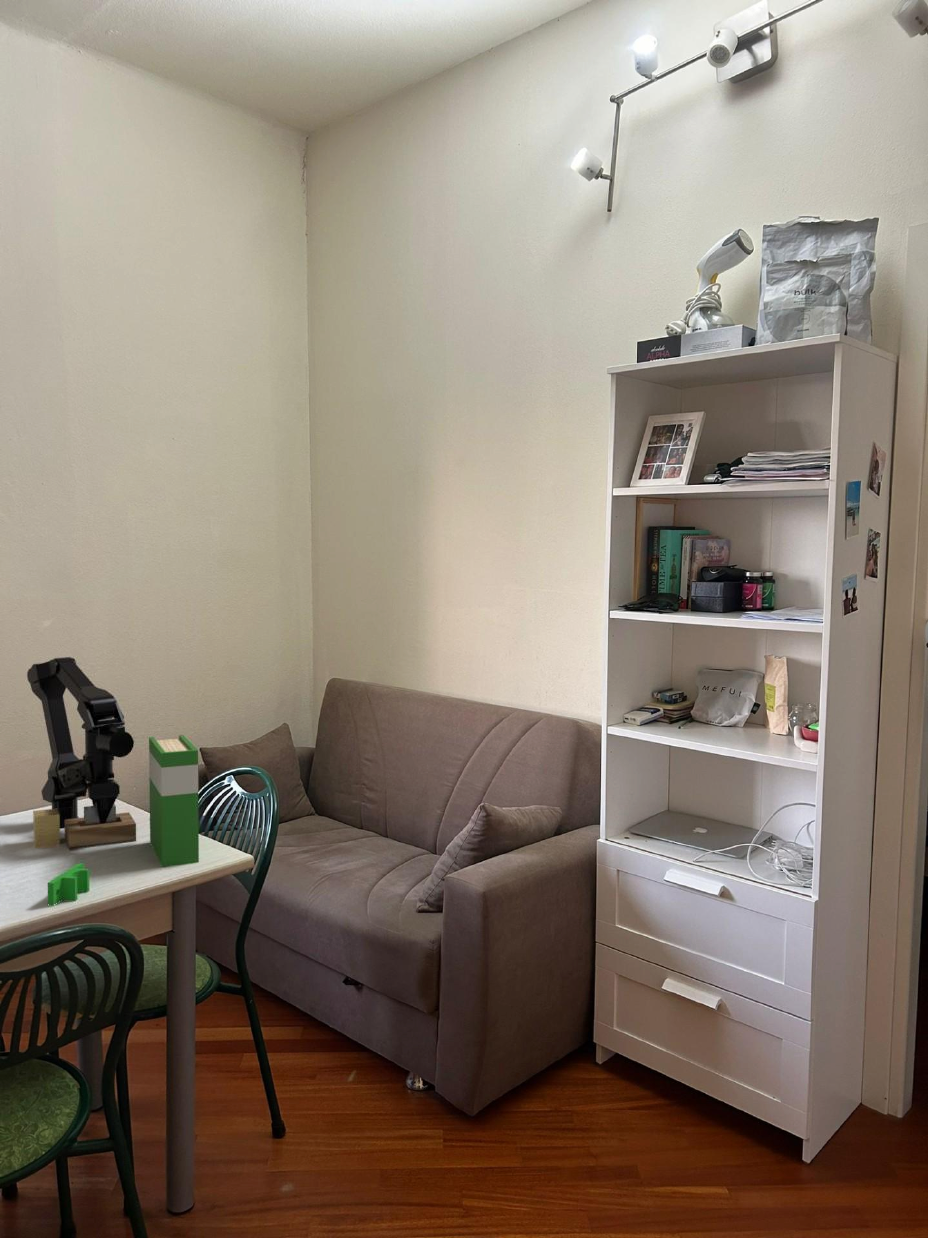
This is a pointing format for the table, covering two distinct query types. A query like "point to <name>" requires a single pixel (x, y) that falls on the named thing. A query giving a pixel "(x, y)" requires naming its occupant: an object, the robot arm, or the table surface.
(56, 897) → the green finned bracket
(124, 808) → the table surface
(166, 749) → the hardback book
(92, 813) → the block
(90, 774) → the robot arm
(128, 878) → the table surface
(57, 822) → the square bit
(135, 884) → the table surface
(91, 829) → the socket block
